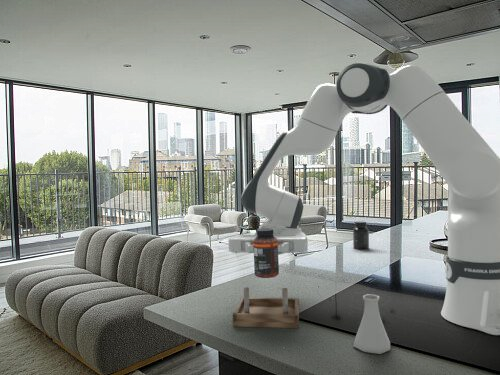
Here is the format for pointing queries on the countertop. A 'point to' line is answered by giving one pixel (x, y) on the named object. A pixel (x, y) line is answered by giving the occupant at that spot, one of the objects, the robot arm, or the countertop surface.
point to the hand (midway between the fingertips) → (265, 249)
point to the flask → (372, 328)
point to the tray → (267, 311)
